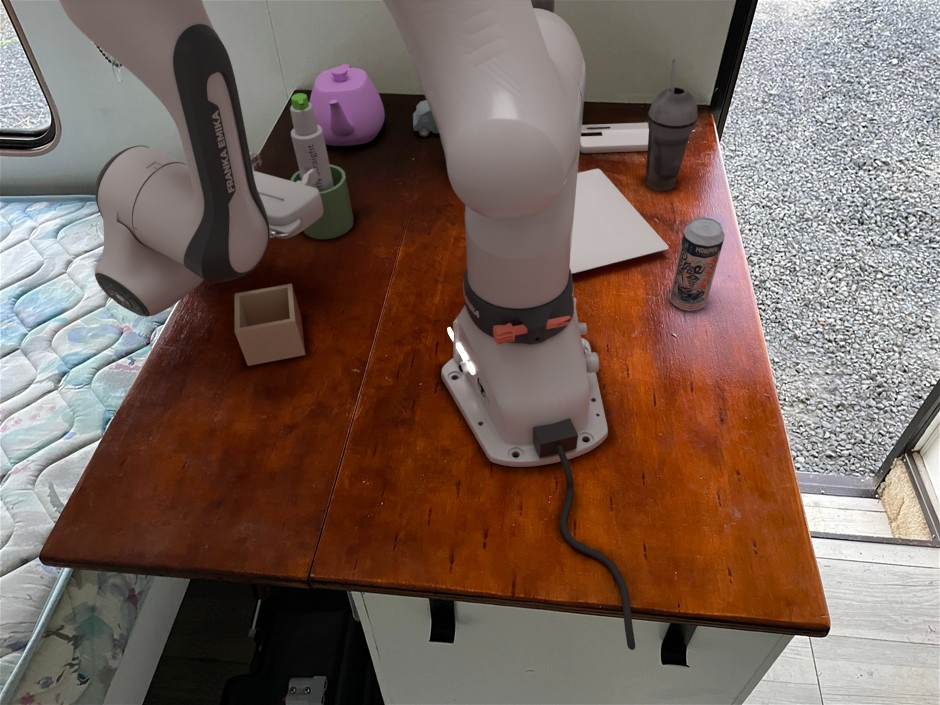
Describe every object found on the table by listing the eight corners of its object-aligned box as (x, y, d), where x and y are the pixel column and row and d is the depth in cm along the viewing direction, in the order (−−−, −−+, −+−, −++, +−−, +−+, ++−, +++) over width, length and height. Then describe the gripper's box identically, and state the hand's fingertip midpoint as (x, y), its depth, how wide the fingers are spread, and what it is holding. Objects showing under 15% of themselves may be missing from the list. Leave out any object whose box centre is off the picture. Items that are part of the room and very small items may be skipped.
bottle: (309, 229, 107) (279, 105, 93) (314, 212, 110) (285, 89, 96) (338, 228, 107) (312, 103, 93) (342, 211, 110) (317, 88, 96)
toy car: (470, 134, 126) (469, 108, 123) (414, 137, 126) (411, 111, 123) (468, 116, 131) (467, 91, 127) (414, 119, 131) (412, 94, 127)
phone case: (580, 153, 121) (669, 150, 120) (581, 146, 120) (670, 143, 119) (575, 132, 126) (660, 128, 125) (576, 124, 125) (662, 121, 124)
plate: (520, 296, 96) (521, 285, 94) (467, 207, 111) (467, 196, 109) (667, 258, 100) (670, 246, 99) (597, 178, 115) (599, 166, 114)
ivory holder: (305, 355, 90) (295, 320, 85) (247, 366, 89) (234, 331, 84) (301, 317, 95) (291, 283, 90) (246, 327, 94) (234, 293, 89)
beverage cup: (683, 197, 111) (710, 72, 96) (636, 194, 112) (655, 69, 97) (683, 172, 115) (708, 49, 101) (638, 169, 117) (656, 47, 102)
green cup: (356, 234, 107) (348, 188, 101) (303, 243, 106) (292, 197, 100) (350, 205, 113) (342, 160, 107) (300, 213, 111) (288, 168, 106)
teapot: (319, 110, 135) (306, 48, 126) (389, 107, 135) (381, 45, 126) (305, 167, 121) (290, 102, 112) (383, 163, 121) (374, 98, 112)
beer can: (666, 308, 93) (682, 234, 85) (672, 286, 96) (688, 212, 88) (703, 316, 92) (723, 242, 83) (708, 293, 95) (728, 219, 86)
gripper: (277, 219, 82) (344, 161, 90) (146, 180, 89) (220, 128, 97) (289, 262, 86) (352, 202, 95) (164, 221, 93) (233, 169, 102)
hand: (284, 165), depth 96 cm, fingers open, 8 cm apart
